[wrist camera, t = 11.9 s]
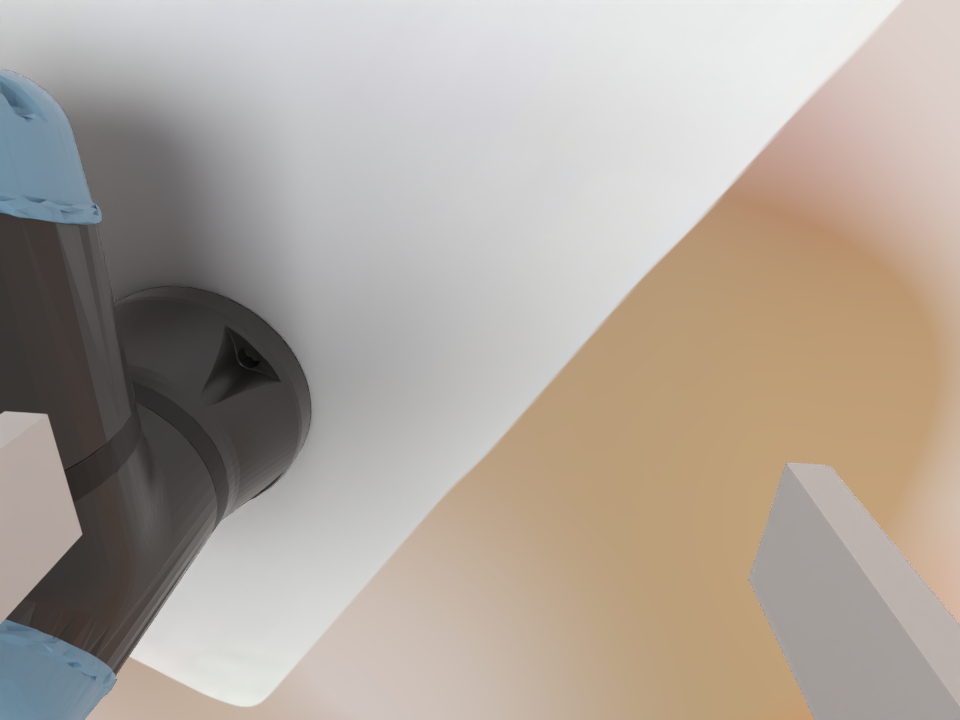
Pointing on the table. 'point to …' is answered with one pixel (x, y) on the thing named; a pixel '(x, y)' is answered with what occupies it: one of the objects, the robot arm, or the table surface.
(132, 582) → the robot arm
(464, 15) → the table surface
